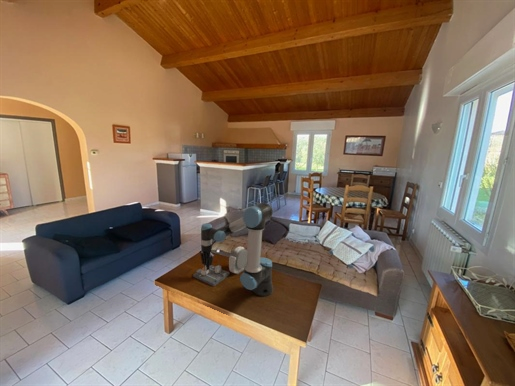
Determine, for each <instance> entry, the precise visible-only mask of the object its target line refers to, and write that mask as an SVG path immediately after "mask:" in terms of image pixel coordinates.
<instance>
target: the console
mask: <svg viewBox="0 0 515 386" xmlns="http://www.w3.org/2000/svg"><path fill="white" fill-rule="evenodd" d="M215 267H216V266H215V265H210V266H209V273H208V274H206V275H205V276H204V275H202V274H201V269H202V268H199V269H198V270H196V272H195V273H193V275H192V276H193V278H194V279H197V280H199V281H201V282H203V283H205V284H208V285H210V286H212V287H215V286H217V285H218V284H220V283H221V282H222V281H224V280H225V279H226V278H227V277H228V276H230V275H231V274H230V272H231V271H230V272H229V271H227V270H224V269H222V268H221V272H219V273H215Z"/></svg>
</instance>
